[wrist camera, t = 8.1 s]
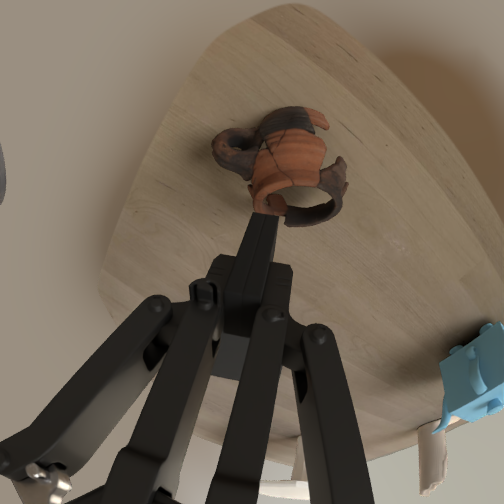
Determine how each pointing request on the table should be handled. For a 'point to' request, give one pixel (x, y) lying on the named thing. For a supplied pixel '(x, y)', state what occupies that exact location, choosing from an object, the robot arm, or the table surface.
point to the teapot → (474, 377)
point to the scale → (231, 357)
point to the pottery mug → (284, 163)
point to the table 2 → (293, 487)
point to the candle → (432, 456)
